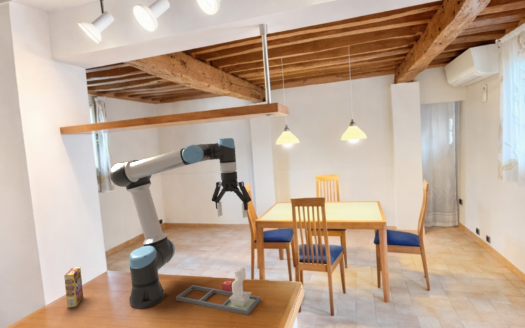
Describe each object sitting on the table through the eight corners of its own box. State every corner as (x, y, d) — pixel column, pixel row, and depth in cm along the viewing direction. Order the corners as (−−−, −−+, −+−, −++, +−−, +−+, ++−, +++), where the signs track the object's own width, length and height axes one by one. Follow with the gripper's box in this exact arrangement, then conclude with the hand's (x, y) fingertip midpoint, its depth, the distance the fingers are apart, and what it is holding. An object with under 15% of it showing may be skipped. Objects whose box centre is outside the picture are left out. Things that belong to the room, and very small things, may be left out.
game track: (176, 300, 141) (175, 296, 141) (192, 287, 152) (192, 284, 152) (247, 315, 125) (247, 311, 125) (260, 300, 135) (260, 296, 135)
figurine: (227, 308, 130) (225, 273, 129) (238, 296, 139) (235, 264, 138) (243, 310, 127) (240, 275, 126) (253, 299, 136) (250, 266, 135)
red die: (222, 292, 145) (221, 283, 145) (227, 288, 149) (226, 279, 149) (229, 293, 144) (229, 284, 143) (234, 289, 147) (233, 280, 147)
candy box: (77, 306, 142) (73, 274, 140) (67, 308, 141) (62, 275, 140) (84, 297, 150) (80, 266, 149) (74, 298, 149) (70, 267, 148)
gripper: (256, 169, 142) (259, 215, 144) (211, 171, 153) (214, 213, 154) (248, 172, 135) (252, 219, 137) (201, 173, 146) (205, 217, 148)
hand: (232, 216), depth 146 cm, fingers open, 13 cm apart
